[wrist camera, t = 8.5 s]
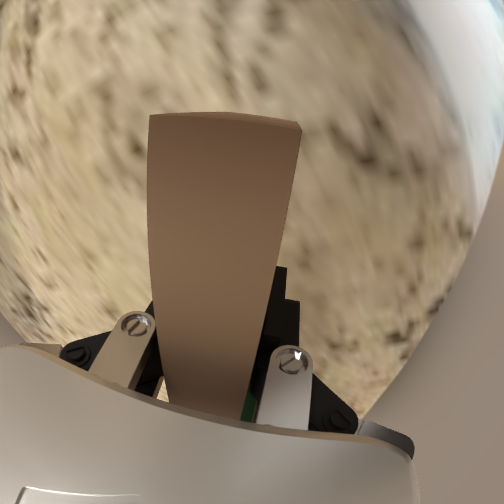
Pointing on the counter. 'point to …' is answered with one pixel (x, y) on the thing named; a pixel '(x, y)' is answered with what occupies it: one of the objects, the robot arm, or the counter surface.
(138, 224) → the counter surface
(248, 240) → the brown rectangular block
